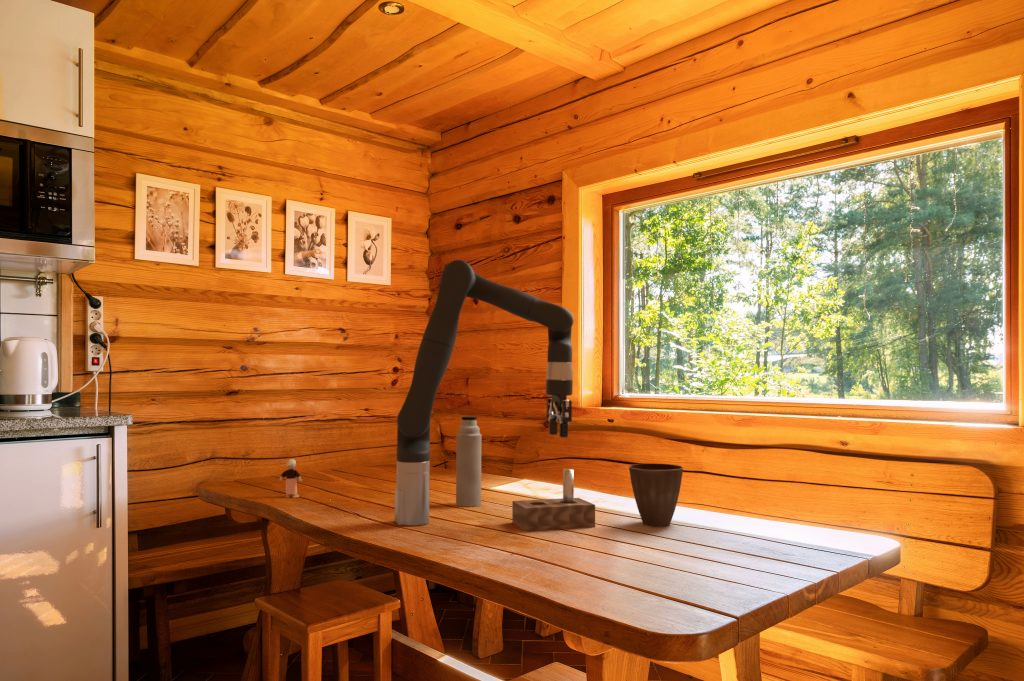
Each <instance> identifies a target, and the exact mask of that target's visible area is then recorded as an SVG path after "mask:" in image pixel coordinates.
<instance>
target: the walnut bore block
mask: <svg viewBox="0 0 1024 681" xmlns="http://www.w3.org/2000/svg"><path fill="white" fill-rule="evenodd" d="M511 514H512V521H511V522H512V524H514V525H515V526H517V527H519V528H520V529H522V530H523V531H525V532H533V531H547V530H549V531H550V530H564V529H565V530H566V529H580V528H581V529H582V528H584V529H585V528H596V504H595V503H592V502H589V501H588V500H585V499H583V498H580V497H574V503H567V504H564V503H563V498H547V499H546V498H545V499H528V500H527V499H525V500H524V499H523V500H521V499H520V500H512V513H511Z"/></svg>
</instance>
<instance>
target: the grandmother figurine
mask: <svg viewBox="0 0 1024 681" xmlns="http://www.w3.org/2000/svg"><path fill="white" fill-rule="evenodd" d="M296 464H297V462H296V460H295V459H293V458H291V459H288V460H287V461H286V463H285V466H286V467H287V470H285V471H283V472H282V473H281V474H280V477H279V479H278V480H279V482H282V481H283V479H284V478H285V498H293V499H295V498H299V497H300V494H298V487H297V486H298V485H297V484H298V483H297V482H299V483H301V482H303V479H302V478H301V474H300V473H299V471H298V470H296V469H295V468H296ZM297 480H298V481H297Z"/></svg>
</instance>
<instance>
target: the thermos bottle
mask: <svg viewBox="0 0 1024 681" xmlns="http://www.w3.org/2000/svg"><path fill="white" fill-rule="evenodd" d="M477 420H478V417H477V416H462V417H461V425H460V426H458V433H456V452H455V453H456V456H455V457H456V459H455V460H456V464H455V465H456V466H455V468H456V470H455V471H456V472H455V474H456V478H455V482H456V484H455V506H457V505H458V506H457V507H461V506H470V507H469V508H473V507H472V506H476V507H479V505H480V506H482V447H483V446H482V437H483V436H482V433H480V430H481V429H480V427H479V426H478V425H477V424H478V421H477Z"/></svg>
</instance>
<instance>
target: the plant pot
mask: <svg viewBox="0 0 1024 681" xmlns="http://www.w3.org/2000/svg"><path fill="white" fill-rule="evenodd" d="M628 470H629V477H630V484H631V488H632V492H633V496H634V500H635V504H636V507H637V510H638V513H639V517H640V518H641V521H642V523H643V525H644V526H649V527H650V526H651V527H667V526H670V525H671V523H672V519H673V516H674V514H675V510H676V507H677V504H678V502H679V501H678V500H679V496H680V492H681V488H682V486H681V485H682V481H683V480H682V479H683V472H684V466H682V465H679V464H670V463H636V464H635V463H634V464H630V465H629V466H628Z"/></svg>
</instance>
